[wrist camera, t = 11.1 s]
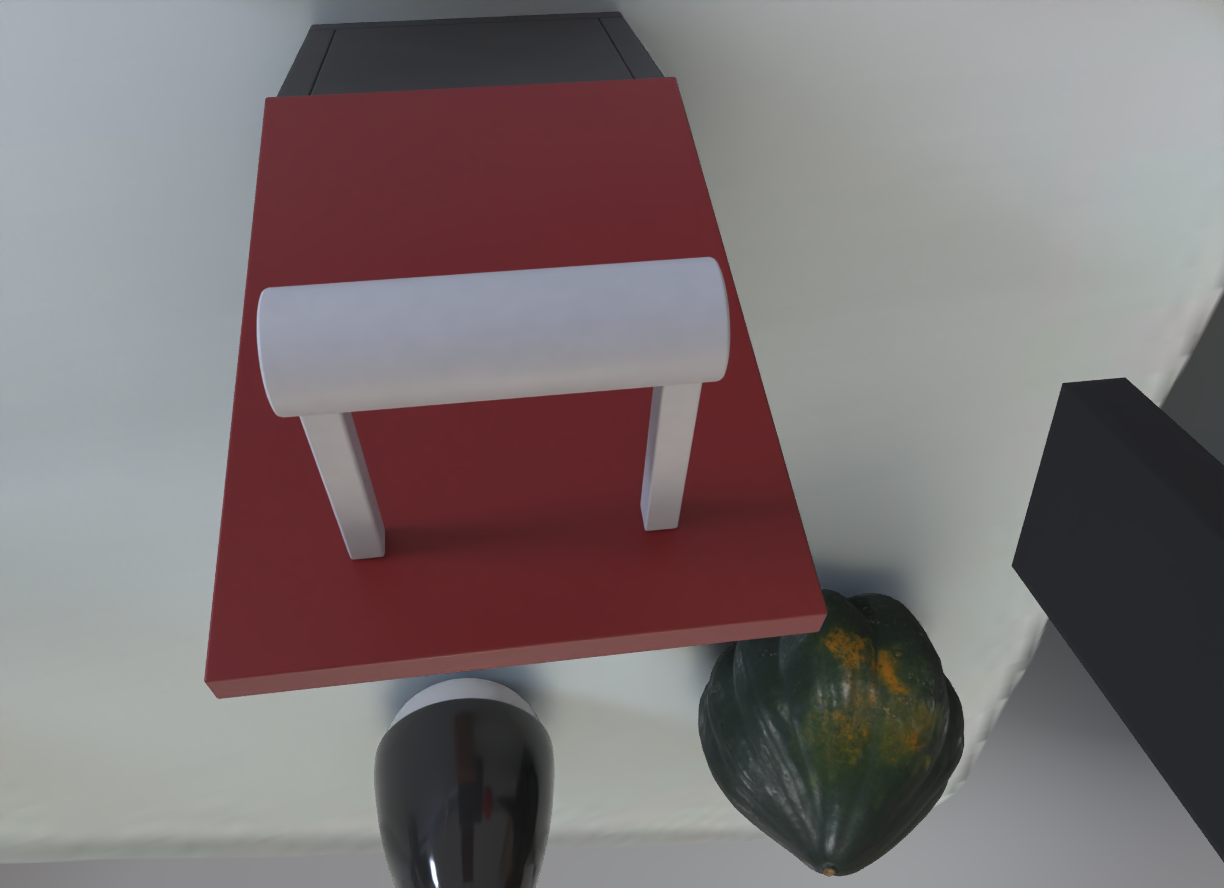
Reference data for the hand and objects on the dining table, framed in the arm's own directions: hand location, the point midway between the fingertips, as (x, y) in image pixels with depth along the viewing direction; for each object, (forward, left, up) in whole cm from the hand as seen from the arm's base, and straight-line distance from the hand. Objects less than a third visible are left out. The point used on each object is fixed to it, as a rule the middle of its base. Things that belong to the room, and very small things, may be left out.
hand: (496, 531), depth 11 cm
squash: (+17, -39, -34) cm, 54 cm away
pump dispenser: (-4, -41, -34) cm, 53 cm away
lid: (0, -5, -14) cm, 14 cm away
